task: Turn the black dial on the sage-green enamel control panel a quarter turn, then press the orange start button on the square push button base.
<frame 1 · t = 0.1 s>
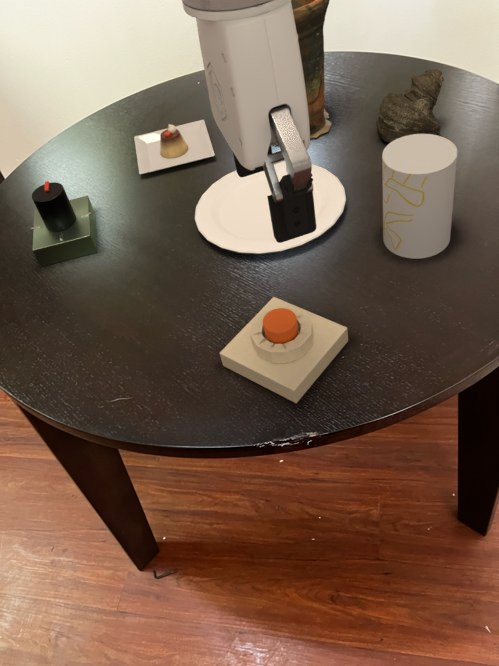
hand: (274, 201, 52), 23 cm above the table, tool pointing down, fingers open, 9 cm apart
white patterned cylinder: (416, 238, 81), on the table
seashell: (396, 136, 98), on the table
dial: (53, 205, 89), point 6 cm above the table, hinge at 0.0°
dessert: (174, 152, 105), on the table
start button: (280, 325, 68), point 4 cm above the table, slide at 0.1 cm
square push button base: (285, 353, 71), on the table
dial panel: (68, 238, 93), on the table
plate: (270, 213, 90), on the table
vessel: (293, 123, 105), on the table
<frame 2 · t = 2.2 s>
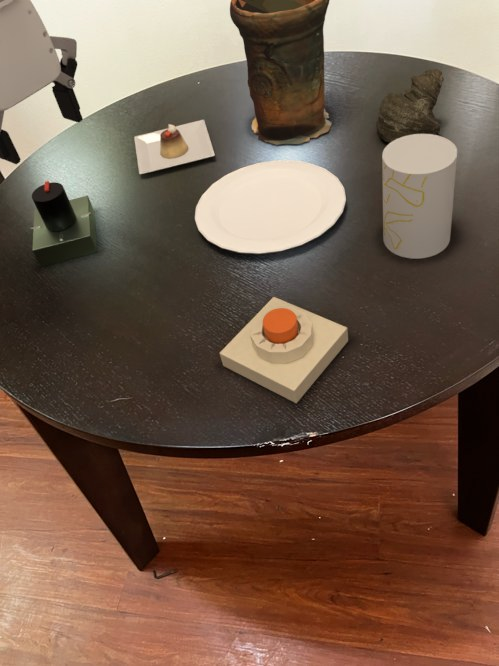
hand: (43, 139, 77), 17 cm above the table, tool pointing down, fingers open, 9 cm apart
nothing on the table moved.
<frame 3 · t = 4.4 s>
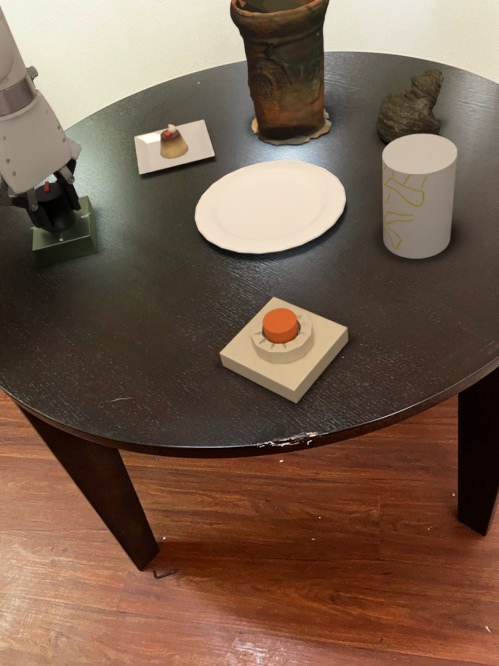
hand: (58, 216, 90), 4 cm above the table, tool pointing down, fingers closed on dial, 4 cm apart
dial: (53, 205, 89), point 6 cm above the table, hinge at -0.1°, touching gripper
everything else where it was.
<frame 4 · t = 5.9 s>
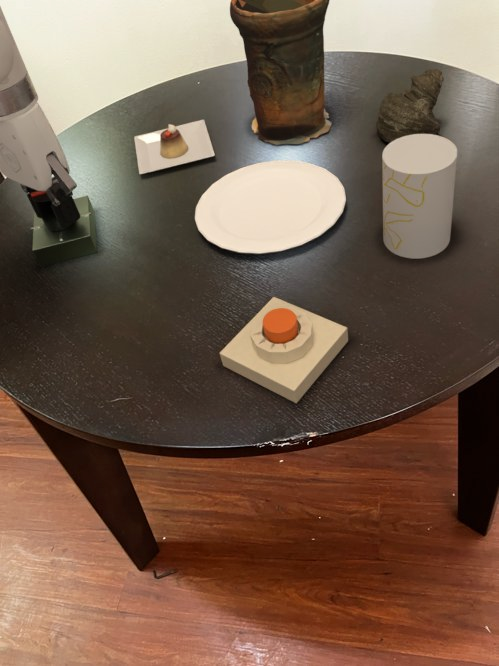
hand: (58, 216, 90), 4 cm above the table, tool pointing down, fingers closed on dial, 4 cm apart
dial: (53, 205, 89), point 6 cm above the table, hinge at 90.2°, touching gripper
everything else where it was.
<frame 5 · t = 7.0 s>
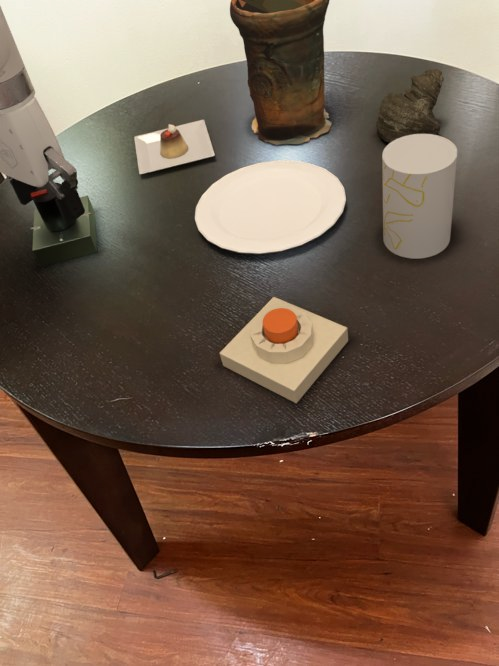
hand: (52, 208, 89), 6 cm above the table, tool pointing down, fingers open, 9 cm apart
dial: (53, 205, 89), point 6 cm above the table, hinge at 92.3°
everything else where it was.
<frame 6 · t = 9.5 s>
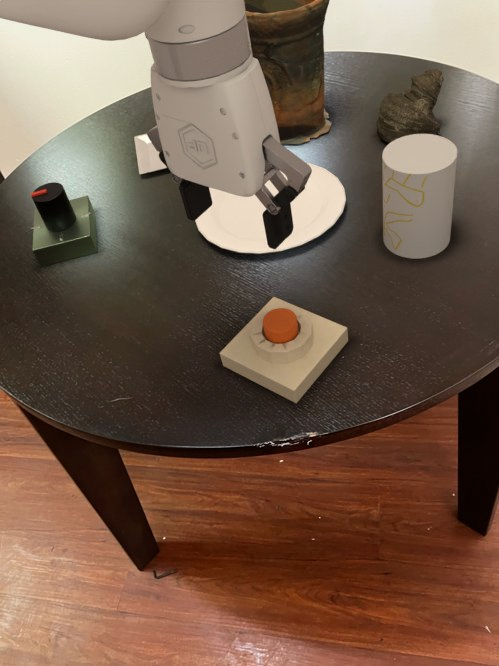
hand: (239, 225, 61), 16 cm above the table, tool pointing down, fingers open, 9 cm apart
nothing on the table moved.
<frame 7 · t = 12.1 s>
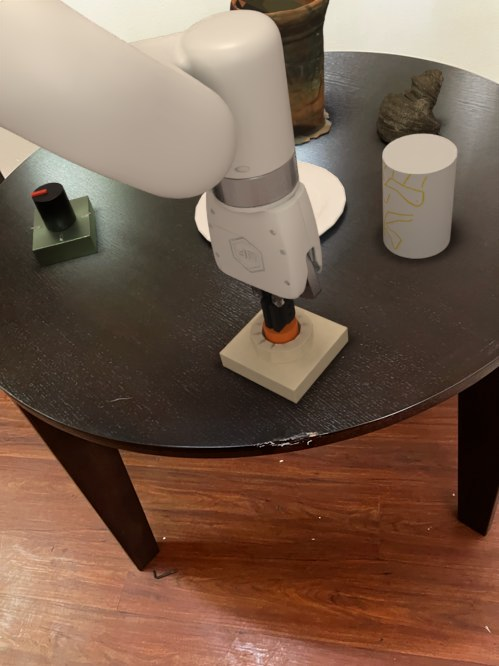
hand: (281, 321, 68), 5 cm above the table, tool pointing down, fingers closed
start button: (280, 327, 68), point 4 cm above the table, slide at -0.2 cm, touching gripper
everything else where it was.
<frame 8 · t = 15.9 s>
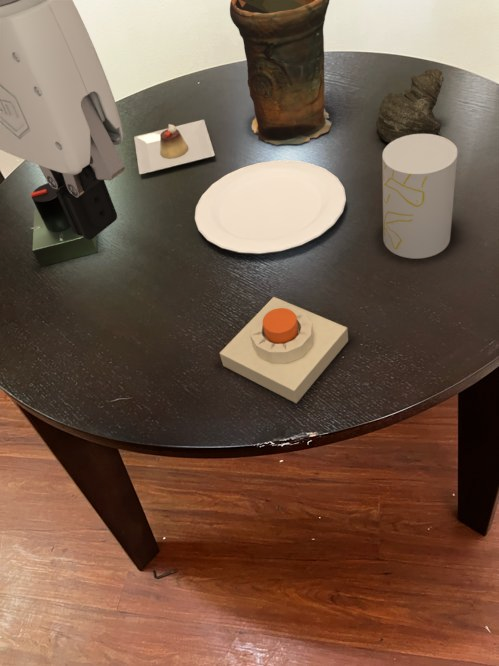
hand: (96, 226, 50), 25 cm above the table, tool pointing down, fingers closed
start button: (280, 325, 68), point 4 cm above the table, slide at 0.1 cm
everything else where it was.
at the end: dial at +92° (first picture: +0°); start button pushed in 1.1 cm at the most during the clip, back to where it started at the end; start button slide at 0.1 cm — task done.
